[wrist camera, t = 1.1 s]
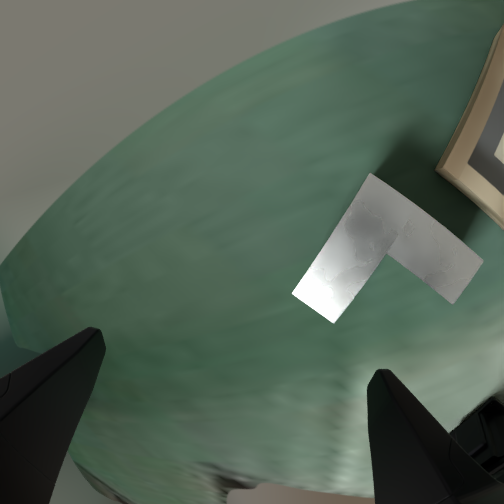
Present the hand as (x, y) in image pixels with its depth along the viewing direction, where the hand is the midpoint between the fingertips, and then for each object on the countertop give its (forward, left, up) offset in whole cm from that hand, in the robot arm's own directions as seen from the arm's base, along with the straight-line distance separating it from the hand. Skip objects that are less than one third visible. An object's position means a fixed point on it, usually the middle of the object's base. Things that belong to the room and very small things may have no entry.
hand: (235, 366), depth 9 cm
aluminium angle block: (-4, -3, -14) cm, 15 cm away
